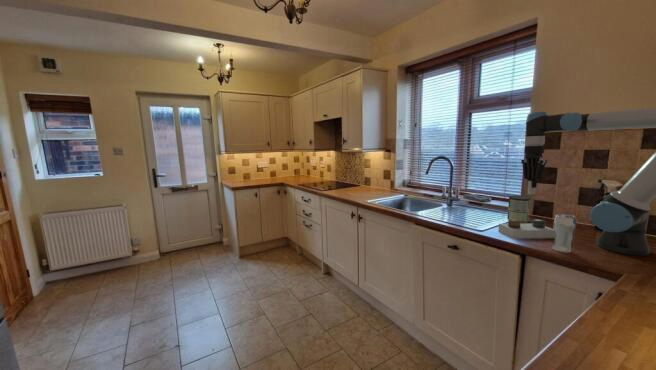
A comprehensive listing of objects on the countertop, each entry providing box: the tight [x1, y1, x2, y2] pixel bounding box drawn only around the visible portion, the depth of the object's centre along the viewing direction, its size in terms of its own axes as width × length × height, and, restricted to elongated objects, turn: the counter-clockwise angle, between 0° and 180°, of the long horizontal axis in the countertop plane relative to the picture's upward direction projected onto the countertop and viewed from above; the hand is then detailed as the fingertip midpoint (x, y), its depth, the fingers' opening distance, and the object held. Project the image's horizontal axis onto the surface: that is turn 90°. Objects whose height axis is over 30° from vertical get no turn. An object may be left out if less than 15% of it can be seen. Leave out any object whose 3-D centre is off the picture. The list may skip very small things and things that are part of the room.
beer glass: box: [551, 213, 577, 254], centre depth 111 cm, size 7×7×15 cm
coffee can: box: [507, 195, 531, 224], centre depth 156 cm, size 10×10×14 cm
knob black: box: [531, 218, 546, 228], centre depth 131 cm, size 5×5×6 cm
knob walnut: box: [507, 219, 522, 228], centre depth 132 cm, size 5×5×6 cm
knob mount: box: [498, 222, 554, 239], centre depth 132 cm, size 11×20×4 cm, turn 89°
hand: (531, 194), depth 129 cm, fingers closed
